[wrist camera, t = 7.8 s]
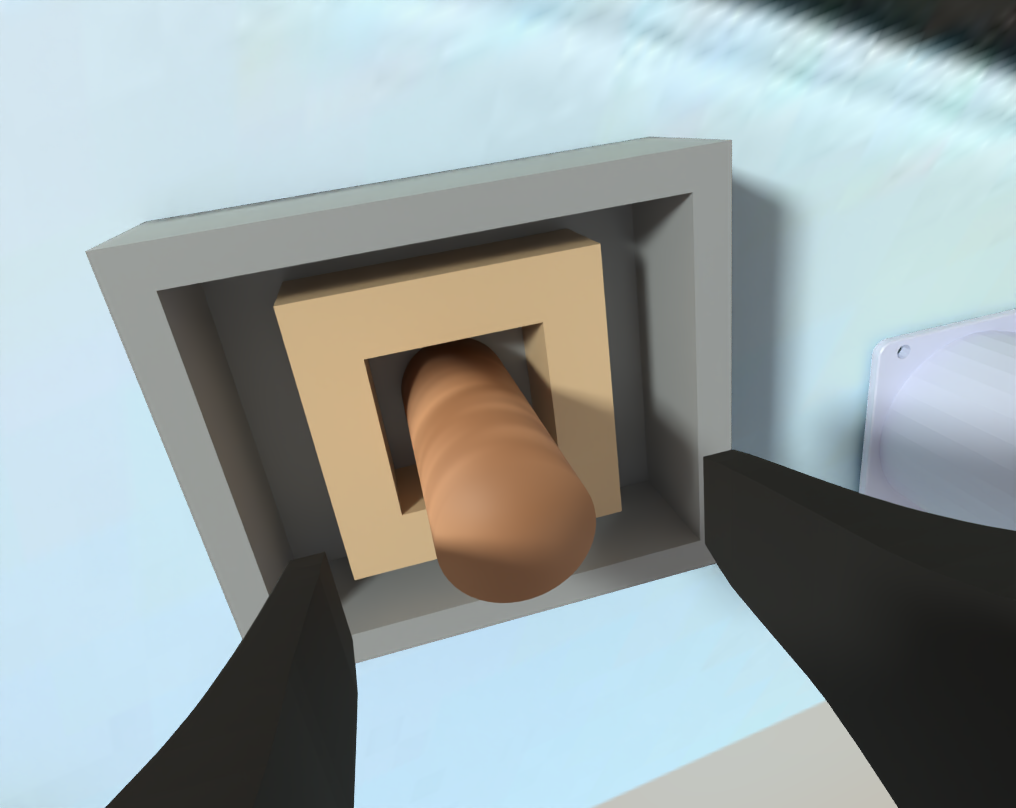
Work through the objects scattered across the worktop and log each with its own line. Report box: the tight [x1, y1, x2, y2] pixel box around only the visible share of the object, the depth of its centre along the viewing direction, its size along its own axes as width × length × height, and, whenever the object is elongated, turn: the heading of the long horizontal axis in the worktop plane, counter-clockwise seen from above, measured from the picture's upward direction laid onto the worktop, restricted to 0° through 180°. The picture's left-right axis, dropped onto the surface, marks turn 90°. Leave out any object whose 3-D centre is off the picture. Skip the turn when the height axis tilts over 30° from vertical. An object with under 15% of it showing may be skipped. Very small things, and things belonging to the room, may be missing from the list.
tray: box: [85, 137, 732, 663], centre depth 19 cm, size 14×12×4 cm
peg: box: [401, 338, 596, 603], centre depth 16 cm, size 3×3×8 cm
